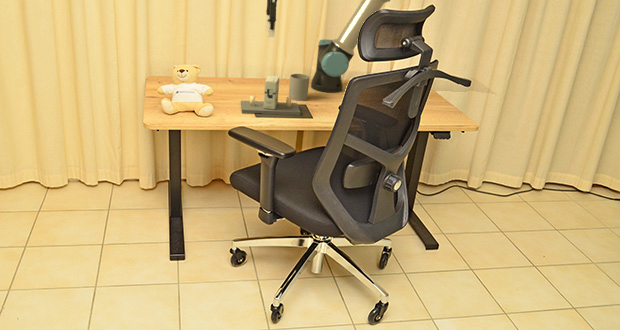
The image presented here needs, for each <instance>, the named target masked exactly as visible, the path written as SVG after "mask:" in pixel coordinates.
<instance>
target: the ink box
mask: <svg viewBox="0 0 620 330" xmlns="http://www.w3.org/2000/svg"><path fill="white" fill-rule="evenodd" d="M279 87H280V76H277V75H267V77H266V78H265V81H264V94H263V95H264V96H263V102H264V108H268V109H275V108H276V106H277V103H278V102H279V101H278V100H279Z"/></svg>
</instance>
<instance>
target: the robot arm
mask: <svg viewBox="0 0 620 330" xmlns="http://www.w3.org/2000/svg"><path fill="white" fill-rule="evenodd" d="M390 1H391V0H361V2H360V3H359V5H358V7H357V8H356V9H355V11H354V13H353V14H352V15H351V17H350V19H349V20H348V22H347V23H346V25H345V27H344V28H343V30H342V31H341V32H340V34H339V36H338V37H337V38H335V39H325V38H324V39H320V40H319V41H318V46H317V58H316V66H315V67H316V68H315V72H314V75H313V77H312V79H311V81H310V82H311V83H310V88H311V89H312V90H315V91H318V92H323V93H339V92H341V91H342V90H343V80H342V76H343V75H344V74H345V73H346V72H347V71H348V69H349V66H350V62H351V60H352V58H354V56H355V52H354V51H355V48H356V47H357V45H358V43H357V39H358V34H359V30H360V28H361V26H362V24H363V22H364V21H365V20H366V19H367V18H368V17H369V16H370V15H371V14H372V13H374V12H375V11H377V10H379V11H380V10H381V9H382V8H383V5H385V3H389V2H390ZM277 3H278V0H267V1H266V10H265V12H266V13H265V14H266V17H265V31H268V32H267V37H268V38H275V34H276V33H275V32H276V31H275V30H276V21H277Z"/></svg>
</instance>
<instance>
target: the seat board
mask: <svg viewBox="0 0 620 330" xmlns="http://www.w3.org/2000/svg"><path fill="white" fill-rule="evenodd" d="M285 99H286V100H285V102H282V101H281V102H279V101H278V103H277V106H276V108H275V109H268V108H264V100H263V101H262V100H261V101H260V100H259V101H256V96H255V95H250V97H249V100H240V109H241V111H240V112H241V114H246V115H247V114H251V115H253V114H254V115H256V114H255V113H262V114H261V115H270V114H278V115H277V116H294V115H295V116H296V117H297V116H301V110H300V107H299V105H298V102H292V100H291V98H290V97H289V96H287V97H286V98H285Z"/></svg>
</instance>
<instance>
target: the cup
mask: <svg viewBox="0 0 620 330" xmlns="http://www.w3.org/2000/svg"><path fill="white" fill-rule="evenodd" d="M289 77H290V78H289V89H288V97H290V98H291V101H296V102H305V101H307V100H308V97H309V85H310V84H309V83H310V76H309V75H307V74H303V73H302V74H301V73H293V74H290V75H289Z"/></svg>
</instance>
